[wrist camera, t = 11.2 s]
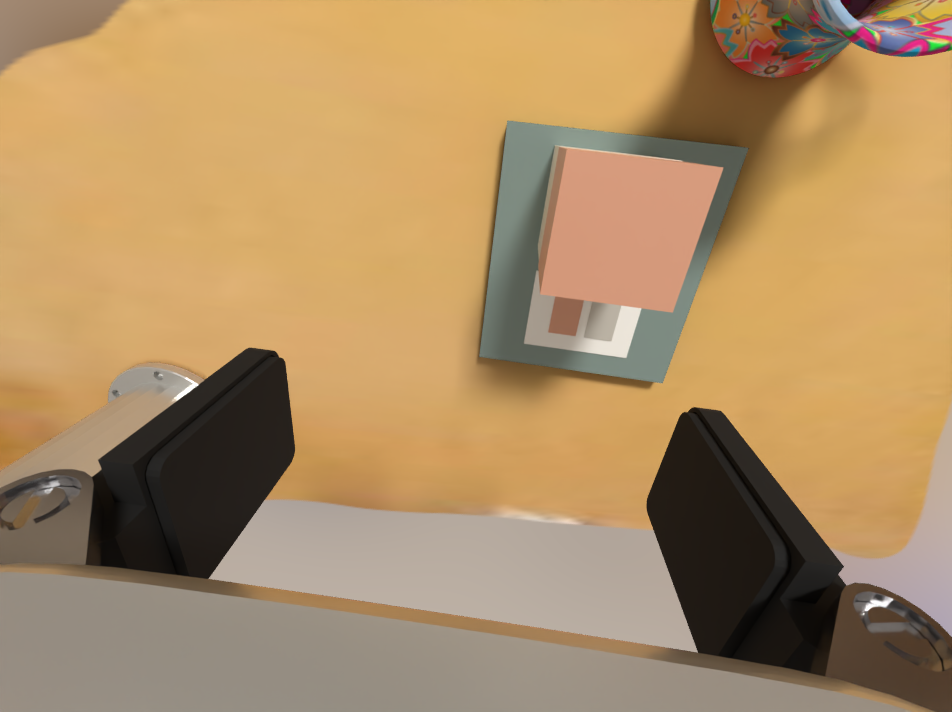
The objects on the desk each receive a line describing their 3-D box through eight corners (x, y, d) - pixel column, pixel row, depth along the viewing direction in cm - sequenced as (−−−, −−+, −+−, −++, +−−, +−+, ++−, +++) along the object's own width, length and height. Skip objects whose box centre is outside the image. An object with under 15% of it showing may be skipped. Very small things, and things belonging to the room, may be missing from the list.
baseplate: (658, 375, 33) (689, 432, 26) (481, 349, 33) (469, 399, 27) (739, 147, 25) (810, 150, 19) (508, 121, 26) (501, 115, 20)
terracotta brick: (645, 279, 23) (672, 312, 19) (538, 265, 24) (539, 294, 19) (681, 161, 20) (723, 167, 16) (559, 146, 21) (566, 148, 16)
